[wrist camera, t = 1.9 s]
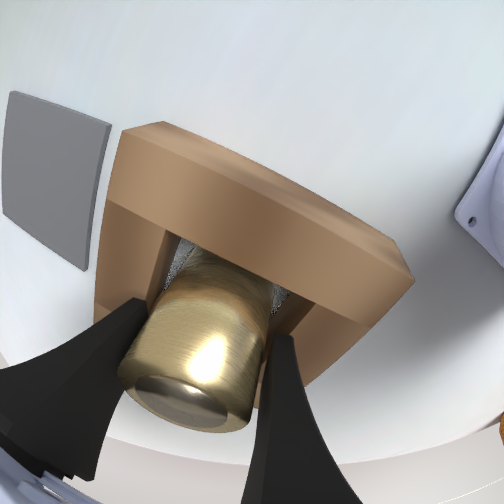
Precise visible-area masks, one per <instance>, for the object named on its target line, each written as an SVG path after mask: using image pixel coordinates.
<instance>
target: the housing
mask: <svg viewBox="0 0 504 504" xmlns="http://www.w3.org/2000/svg"><path fill="white" fill-rule="evenodd" d="M181 237H182V238H184V239H186V240H188V241H190V242H192V243H194V244H196V245H198V246H200V247H202V248H204V249H206V250H208V251H210V252H212V253H214V254H216V255H218V256H220V257H222V258H224V259H226V260H228V261H230V262H232V263H234V264H236V265H238V266H240V267H242V268H244V269H246V270H248V271H251V272H253V273H255V274H257V275H259V276H261V277H263V278H265V279H267V280H269V281H271V282H273V283H275V284H277V285H279V286H281V287H283V288H286V289H288V290H290V291H292V292H291V293H290V294H289V296H288V297H287V298H286V300H285V301H284V302H283V304H282V305H281V306H280V308H279V309H278V310H277V312H276V313H275V314H274V316H273V317H272V318H271V319H270V321H269V327H268V332H267V338H266V343H265V349H264V354H263V359H262V365H261V370H260V375H259V380H258V385H257V390H256V395H255V400H254V405H253V407H254V408H257V409H259V399H260V389H261V384H262V379H263V374H264V369H265V365H266V361H267V358H268V355H269V351H270V348H271V344H272V341H273V337H274V334H275V333H281V334H286V335H291V336H292V337H293V338H294V345H295V352H296V357H297V362H298V367H299V371H300V375H301V379H302V382H303V386H304V387H305V386H307V385H308V384H309V383H310V382H312V381H313V380H314V379H315V378H317V377H318V376H319V375H320V374H321V373H323V372H324V371H325V370H326V369H327V368H329V367H330V366H331V365H332V364H333V363H334V362H335V361H337V360H338V359H339V358H340V357H341V356H342V355H343V354H344V353H346V352H347V351H348V350H349V349H350V348H351V347H352V346H353V345H354V344H355V343H356V342H357V341H359V340H360V339H361V338H362V337H363V336H364V335H365V334H366V333H367V332H368V331H369V330H370V329H371V328H372V327H373V326H374V325H375V324H376V323H377V322H378V321H379V320H380V319H381V318H382V317H383V316H384V315H385V314H386V313H387V312H388V311H389V310H390V309H391V308H392V306H393V305H394V304H395V303H396V302H397V301H398V300H399V299H400V298H401V297H402V296H403V294H404V293H405V292H406V291H407V290H408V289H409V288H410V287H411V285H412V284H413V283H414V282H415V280H414V278H413V276H412V274H411V272H410V270H409V268H408V266H407V264H406V262H405V260H404V258H403V256H402V254H401V253H400V251H399V249H398V247H397V245H396V243H395V242H394V241H393V240H392V239H390V238H389V237H387V236H385V235H384V234H382V233H381V232H379V231H378V230H376V229H374V228H373V227H371V226H370V225H368V224H366V223H365V222H363V221H362V220H360V219H358V218H357V217H355V216H353V215H352V214H350V213H348V212H347V211H345V210H343V209H342V208H340V207H338V206H336V205H335V204H333V203H331V202H330V201H328V200H326V199H324V198H322V197H321V196H319V195H317V194H315V193H314V192H312V191H310V190H308V189H306V188H304V187H303V186H301V185H299V184H297V183H295V182H293V181H291V180H290V179H288V178H286V177H284V176H282V175H280V174H278V173H276V172H274V171H272V170H270V169H268V168H266V167H264V166H262V165H260V164H258V163H256V162H254V161H252V160H250V159H248V158H246V157H244V156H242V155H240V154H238V153H236V152H233V151H231V150H229V149H227V148H225V147H223V146H221V145H218V144H216V143H214V142H212V141H209V140H207V139H205V138H203V137H200V136H198V135H196V134H193V133H191V132H189V131H186V130H184V129H182V128H179V127H177V126H174V125H172V124H169V123H167V122H164V121H161V122H156V123H151V124H147V125H143V126H139V127H134V128H130V129H127V130H123V131H122V133H121V137H120V140H119V144H118V148H117V152H116V156H115V160H114V164H113V168H112V172H111V177H110V182H109V186H108V191H107V197H106V202H105V208H104V214H103V220H102V226H101V233H100V241H99V249H98V258H97V268H96V281H95V297H94V324H95V323H97V322H98V321H100V320H101V319H103V318H104V317H105V316H107V315H108V314H110V313H111V312H112V311H114V310H115V309H117V308H118V307H119V306H121V305H122V304H124V303H125V302H127V301H128V300H129V299H131V298H132V297H134V298H138V299H141V300H145V301H146V302H147V309H148V316H150V314H151V313H152V311H153V310H154V308H155V306H156V305H157V303H158V302H159V300H160V299H161V297H162V296H163V294H164V293H165V291H164V290H163V288H164V285H165V282H166V279H167V276H168V273H169V270H170V267H171V264H172V261H173V258H174V256H175V253H176V250H177V247H178V244H179V242H180V239H181Z"/></svg>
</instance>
